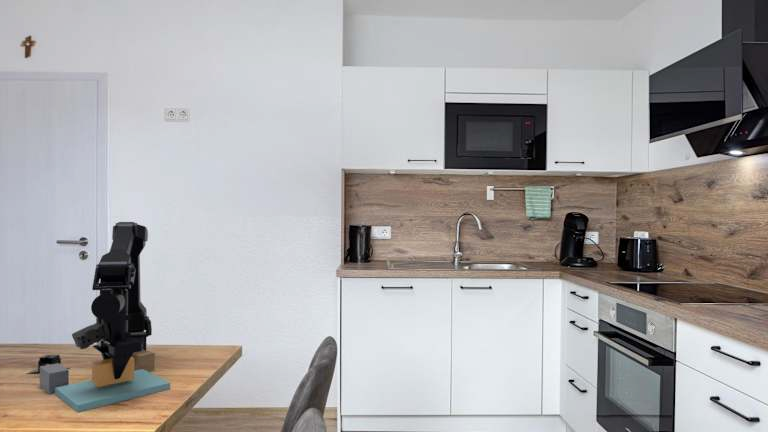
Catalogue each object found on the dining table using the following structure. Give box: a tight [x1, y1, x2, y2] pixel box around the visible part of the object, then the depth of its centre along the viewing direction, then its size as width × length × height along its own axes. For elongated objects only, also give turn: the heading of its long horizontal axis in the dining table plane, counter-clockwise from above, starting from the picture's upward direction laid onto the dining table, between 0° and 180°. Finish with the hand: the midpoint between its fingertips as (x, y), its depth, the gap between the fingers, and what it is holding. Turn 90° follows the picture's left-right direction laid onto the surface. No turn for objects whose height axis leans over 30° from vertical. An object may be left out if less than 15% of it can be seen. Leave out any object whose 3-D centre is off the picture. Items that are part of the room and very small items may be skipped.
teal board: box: [54, 369, 171, 413], centre depth 118 cm, size 20×16×2 cm
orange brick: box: [91, 357, 134, 387], centre depth 118 cm, size 8×4×5 cm, turn 137°
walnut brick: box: [131, 349, 156, 373], centre depth 135 cm, size 8×4×5 cm, turn 57°
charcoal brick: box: [38, 363, 70, 395], centre depth 120 cm, size 8×4×5 cm, turn 48°
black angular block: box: [25, 354, 71, 375], centre depth 134 cm, size 12×7×5 cm, turn 91°
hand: (113, 376), depth 118 cm, fingers closed on orange brick, 4 cm apart
